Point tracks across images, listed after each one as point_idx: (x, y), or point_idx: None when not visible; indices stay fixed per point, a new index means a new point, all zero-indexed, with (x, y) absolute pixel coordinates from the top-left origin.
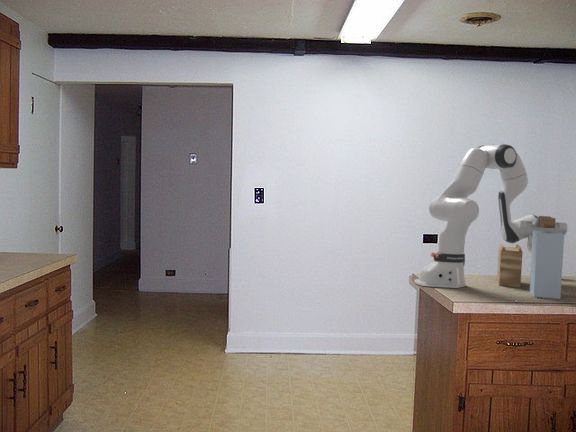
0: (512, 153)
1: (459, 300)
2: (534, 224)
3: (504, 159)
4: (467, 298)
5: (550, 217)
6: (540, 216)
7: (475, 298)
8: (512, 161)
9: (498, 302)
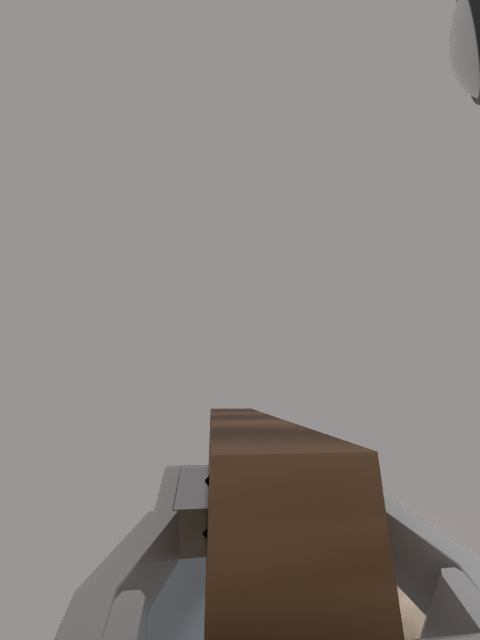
0: (449, 44)
1: (406, 596)
2: (419, 596)
3: (474, 101)
4: (417, 626)
5: (222, 415)
6: (298, 425)
7: (406, 637)
8: (468, 59)
9: None
